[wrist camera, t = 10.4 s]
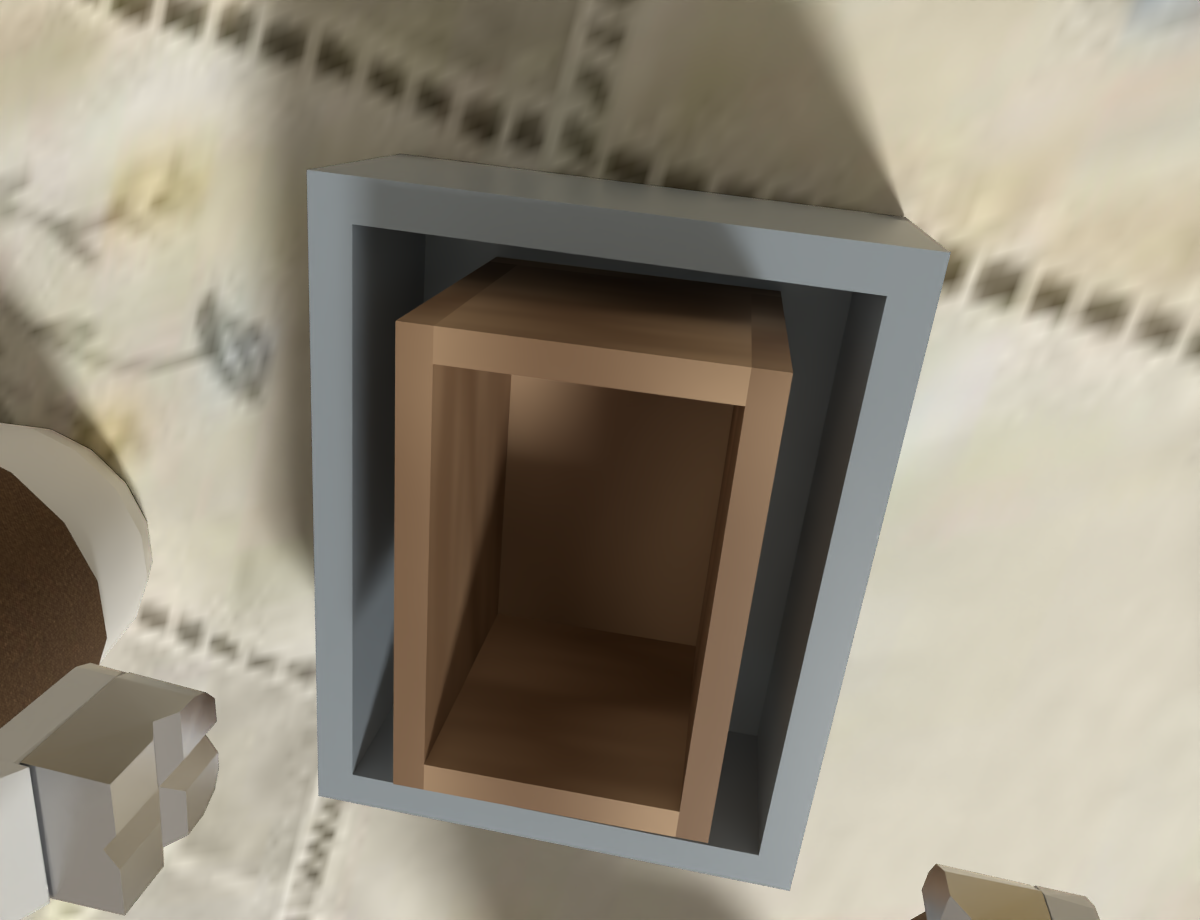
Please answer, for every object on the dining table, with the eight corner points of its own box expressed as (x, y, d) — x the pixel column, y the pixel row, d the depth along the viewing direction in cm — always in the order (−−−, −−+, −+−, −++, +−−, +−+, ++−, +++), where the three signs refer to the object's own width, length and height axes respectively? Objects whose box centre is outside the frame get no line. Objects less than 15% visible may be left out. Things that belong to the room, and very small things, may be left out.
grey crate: (905, 217, 18) (950, 252, 14) (783, 751, 24) (790, 890, 19) (401, 153, 19) (306, 169, 15) (391, 678, 25) (318, 796, 21)
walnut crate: (780, 291, 19) (793, 373, 13) (718, 657, 22) (708, 843, 17) (496, 256, 19) (395, 320, 14) (479, 617, 23) (393, 784, 17)
